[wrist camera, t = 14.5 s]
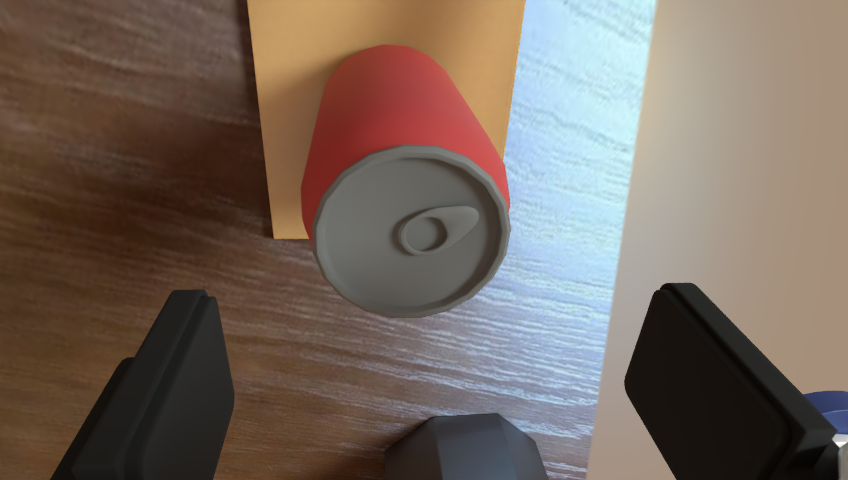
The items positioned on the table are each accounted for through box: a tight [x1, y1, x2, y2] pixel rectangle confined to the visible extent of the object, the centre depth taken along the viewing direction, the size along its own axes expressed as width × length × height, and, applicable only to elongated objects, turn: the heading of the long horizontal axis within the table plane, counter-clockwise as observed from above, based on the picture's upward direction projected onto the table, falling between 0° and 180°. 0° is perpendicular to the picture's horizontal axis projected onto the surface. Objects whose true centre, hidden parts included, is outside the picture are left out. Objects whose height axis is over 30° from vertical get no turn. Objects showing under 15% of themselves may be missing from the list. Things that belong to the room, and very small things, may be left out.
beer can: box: [301, 44, 511, 318], centre depth 19 cm, size 7×7×12 cm
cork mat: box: [247, 0, 526, 239], centre depth 24 cm, size 12×14×1 cm
